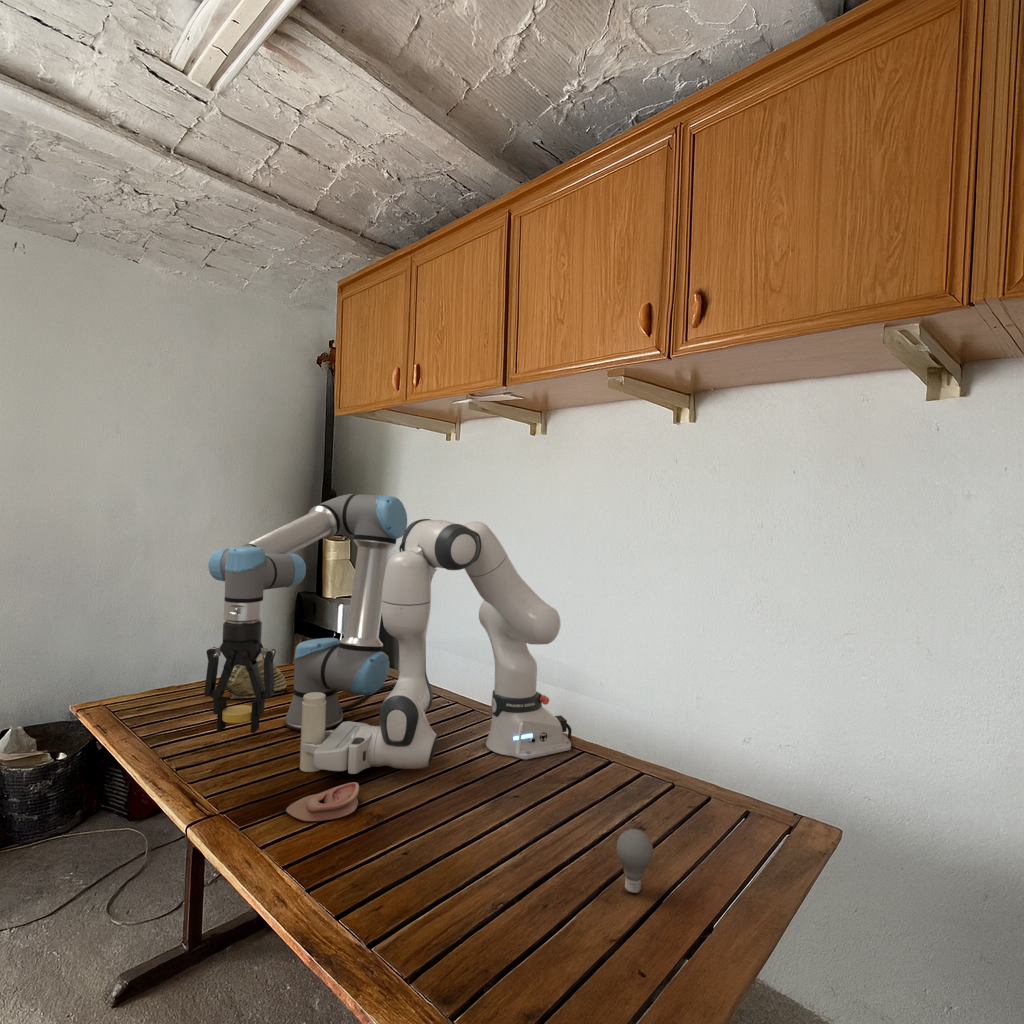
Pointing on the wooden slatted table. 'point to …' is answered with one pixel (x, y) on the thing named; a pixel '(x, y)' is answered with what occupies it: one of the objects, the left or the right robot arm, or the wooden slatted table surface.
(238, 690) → the fossil
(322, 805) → the anatomical model
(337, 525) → the left robot arm
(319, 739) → the jar
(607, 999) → the wooden slatted table surface
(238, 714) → the lid
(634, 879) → the light bulb
